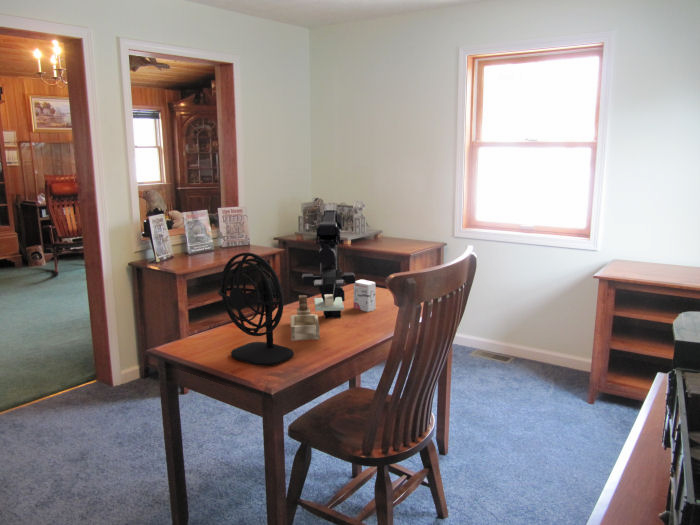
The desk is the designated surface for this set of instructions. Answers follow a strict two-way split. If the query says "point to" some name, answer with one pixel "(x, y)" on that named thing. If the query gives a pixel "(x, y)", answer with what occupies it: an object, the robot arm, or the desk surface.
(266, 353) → the desk fan
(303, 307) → the brown l-shaped block
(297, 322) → the beige piece
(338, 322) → the desk surface
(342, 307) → the lid
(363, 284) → the ink box
